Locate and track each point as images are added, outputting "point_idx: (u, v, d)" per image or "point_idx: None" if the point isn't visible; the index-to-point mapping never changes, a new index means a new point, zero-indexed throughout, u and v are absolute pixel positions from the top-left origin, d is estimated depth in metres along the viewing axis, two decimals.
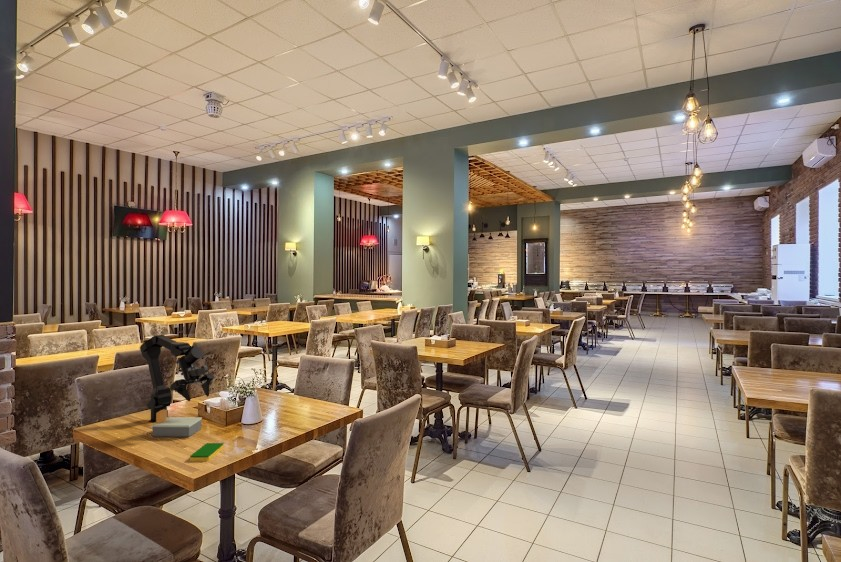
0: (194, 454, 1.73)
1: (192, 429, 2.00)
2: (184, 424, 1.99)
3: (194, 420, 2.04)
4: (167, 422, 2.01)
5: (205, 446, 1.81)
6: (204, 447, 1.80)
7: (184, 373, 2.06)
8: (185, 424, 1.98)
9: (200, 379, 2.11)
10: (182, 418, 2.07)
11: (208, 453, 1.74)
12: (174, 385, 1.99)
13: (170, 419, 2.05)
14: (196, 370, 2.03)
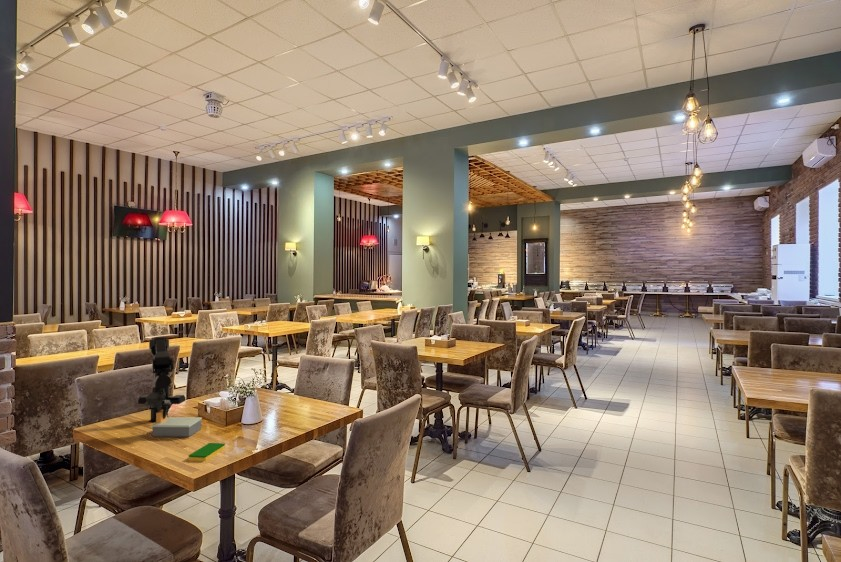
0: (193, 454, 1.74)
1: (192, 429, 2.00)
2: (184, 424, 1.99)
3: (194, 420, 2.04)
4: (167, 422, 2.01)
5: (206, 446, 1.82)
6: (205, 447, 1.81)
7: None
8: (185, 424, 1.98)
9: (169, 399, 2.02)
10: (182, 418, 2.07)
11: (206, 453, 1.74)
12: None
13: (170, 419, 2.05)
14: (146, 399, 1.95)
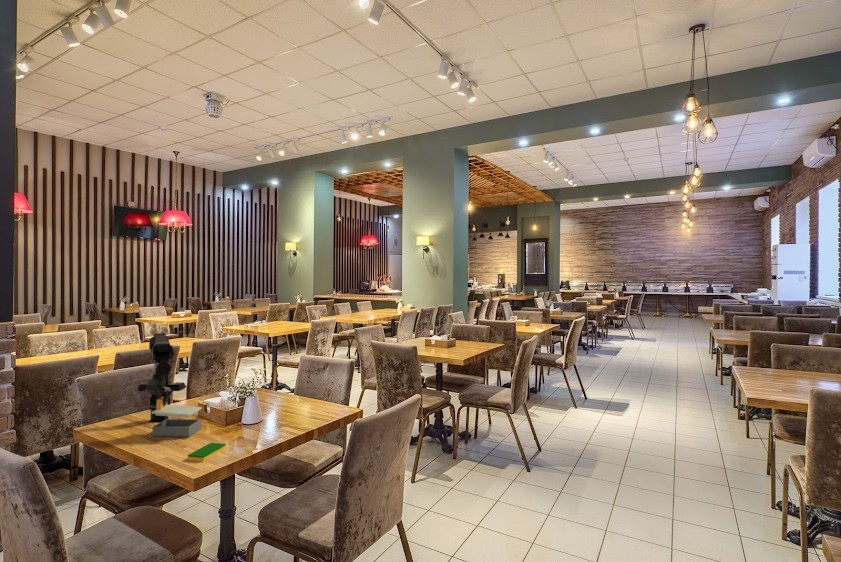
0: (192, 453, 1.74)
1: (192, 429, 2.00)
2: (184, 412, 1.99)
3: (194, 409, 2.04)
4: (167, 409, 2.01)
5: (207, 446, 1.82)
6: (206, 447, 1.81)
7: None
8: (185, 413, 1.98)
9: (169, 386, 2.02)
10: (182, 406, 2.07)
11: (205, 453, 1.74)
12: None
13: (170, 407, 2.05)
14: (146, 386, 1.95)
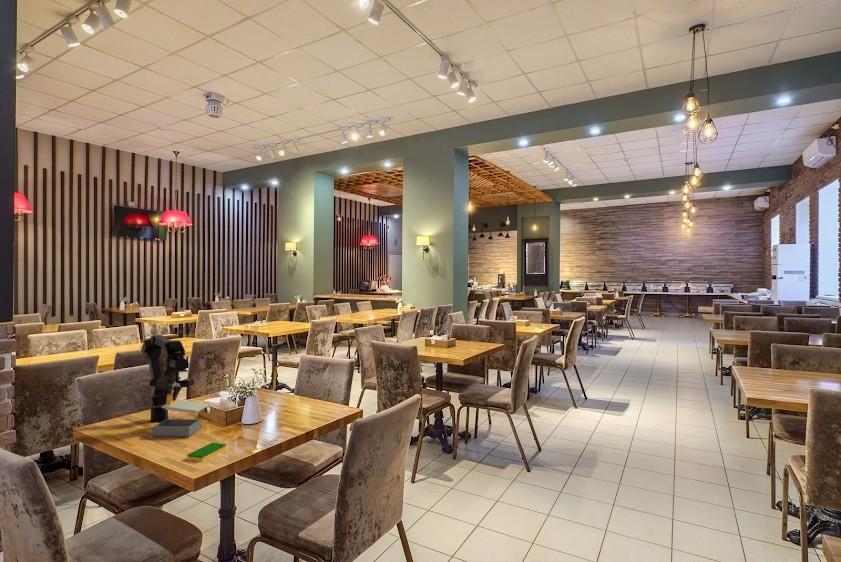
0: (191, 453, 1.74)
1: (192, 429, 2.00)
2: (193, 408, 2.07)
3: (202, 405, 2.12)
4: (177, 404, 2.09)
5: (208, 446, 1.82)
6: (206, 447, 1.81)
7: None
8: (193, 409, 2.06)
9: (178, 382, 2.10)
10: (191, 402, 2.15)
11: (204, 454, 1.74)
12: None
13: (180, 402, 2.13)
14: (157, 381, 2.03)
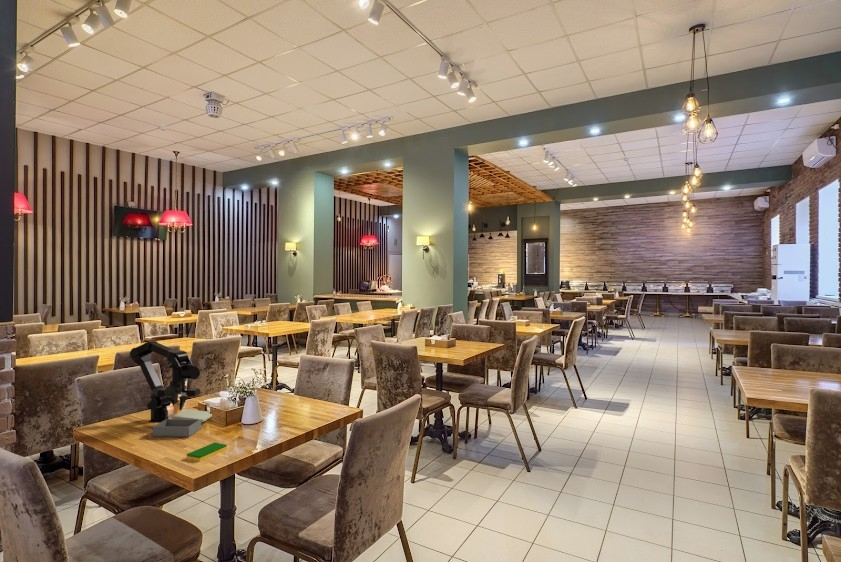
0: (191, 453, 1.74)
1: (192, 429, 2.00)
2: (199, 417, 2.13)
3: (208, 414, 2.18)
4: (183, 413, 2.15)
5: (209, 445, 1.82)
6: (207, 446, 1.81)
7: None
8: (200, 418, 2.12)
9: None
10: (196, 411, 2.21)
11: (202, 454, 1.73)
12: None
13: (186, 411, 2.19)
14: (164, 391, 2.09)
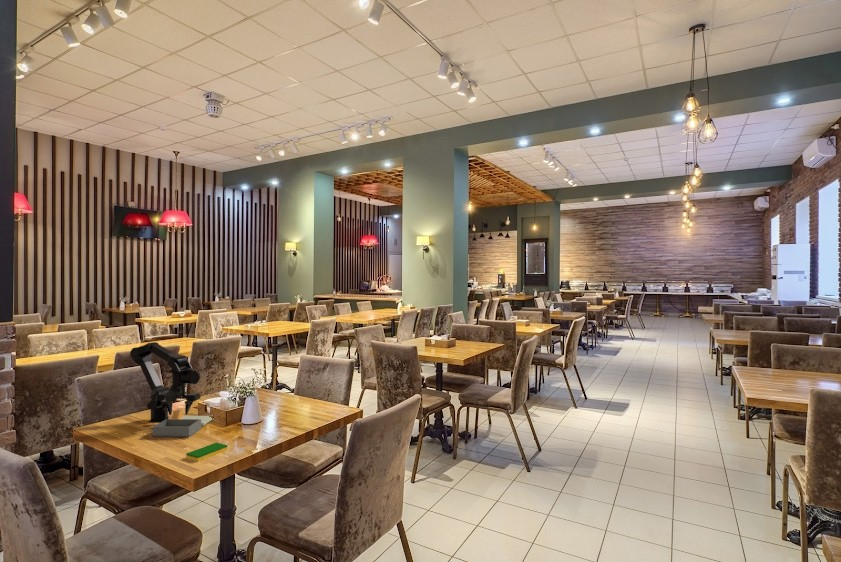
0: (190, 452, 1.75)
1: (192, 429, 2.00)
2: None
3: (208, 418, 2.18)
4: None
5: (210, 445, 1.82)
6: (207, 446, 1.81)
7: None
8: None
9: (185, 397, 2.16)
10: (196, 416, 2.21)
11: (201, 454, 1.73)
12: None
13: (186, 417, 2.19)
14: (164, 396, 2.09)
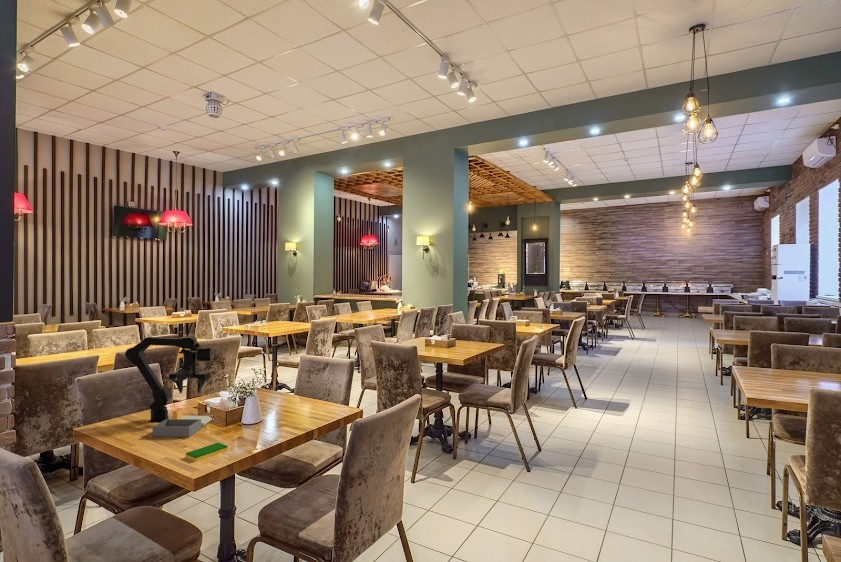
0: (190, 452, 1.75)
1: (192, 429, 2.00)
2: None
3: (208, 418, 2.18)
4: None
5: (211, 445, 1.82)
6: (208, 446, 1.81)
7: None
8: None
9: (196, 376, 2.23)
10: (196, 416, 2.21)
11: (200, 454, 1.73)
12: None
13: (186, 417, 2.19)
14: (176, 375, 2.16)
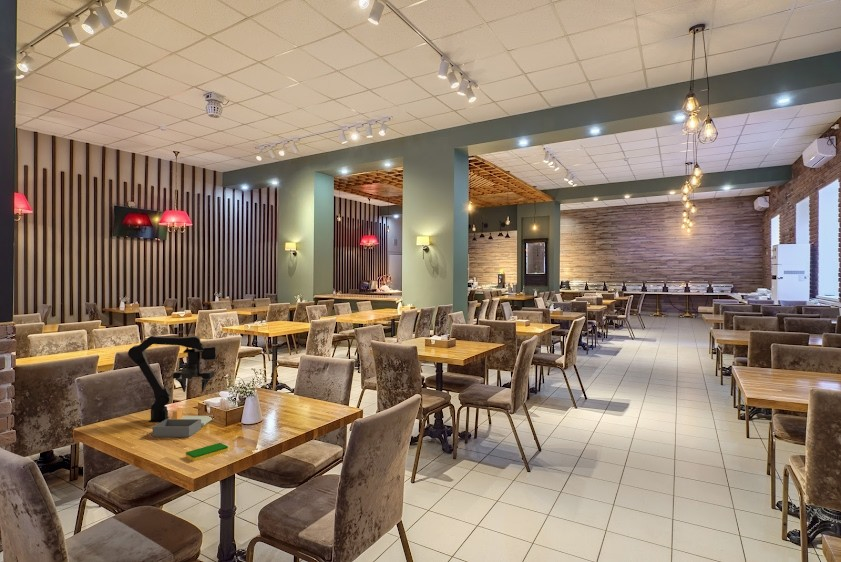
0: (190, 451, 1.76)
1: (192, 429, 2.00)
2: None
3: (208, 418, 2.18)
4: None
5: (211, 445, 1.82)
6: (209, 446, 1.81)
7: None
8: None
9: (200, 375, 2.26)
10: (196, 416, 2.21)
11: (198, 454, 1.74)
12: None
13: (186, 417, 2.19)
14: (181, 374, 2.19)
